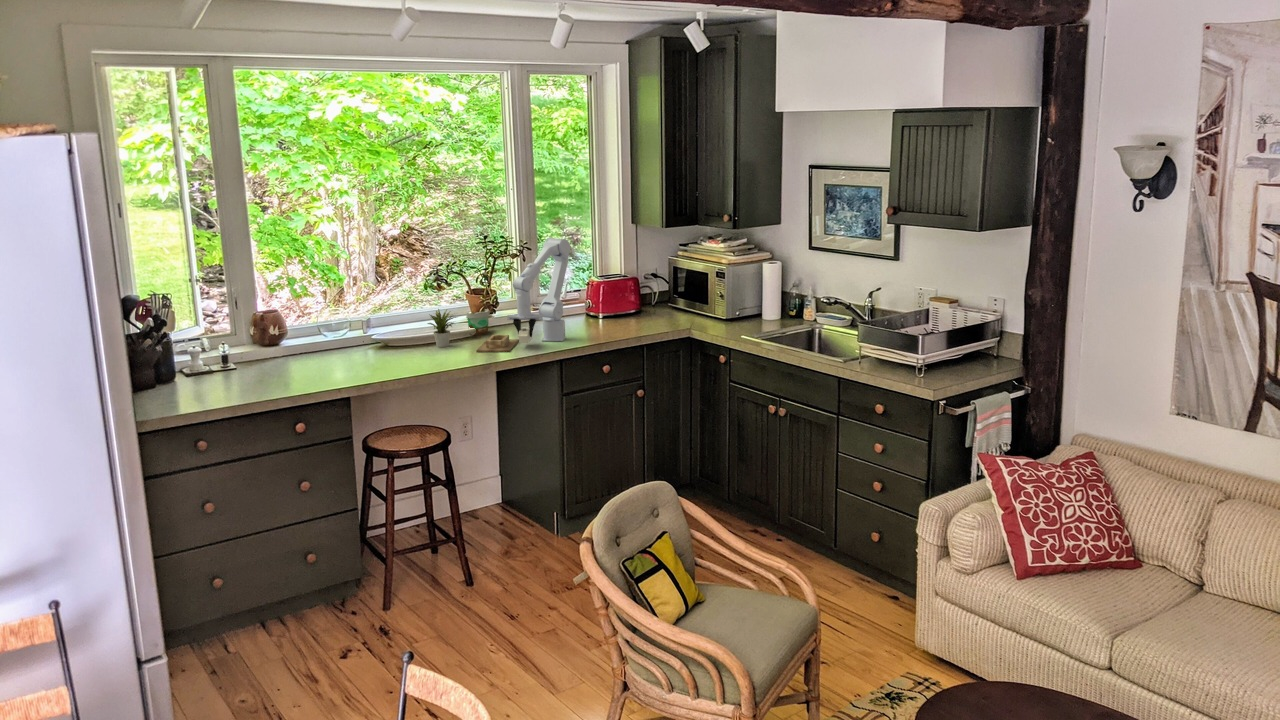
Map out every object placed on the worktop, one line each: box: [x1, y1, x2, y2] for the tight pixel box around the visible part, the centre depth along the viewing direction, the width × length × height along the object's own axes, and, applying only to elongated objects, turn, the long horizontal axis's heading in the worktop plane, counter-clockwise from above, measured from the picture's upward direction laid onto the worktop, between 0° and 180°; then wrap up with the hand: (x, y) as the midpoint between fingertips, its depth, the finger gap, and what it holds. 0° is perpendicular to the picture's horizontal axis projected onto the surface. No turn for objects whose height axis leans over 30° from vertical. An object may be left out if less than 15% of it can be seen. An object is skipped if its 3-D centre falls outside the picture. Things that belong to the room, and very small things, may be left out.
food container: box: [465, 308, 491, 336], centre depth 451 cm, size 12×6×10 cm, turn 143°
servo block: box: [517, 326, 533, 344], centre depth 425 cm, size 4×13×6 cm, turn 175°
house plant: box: [426, 308, 458, 348], centre depth 427 cm, size 14×14×16 cm
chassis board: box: [475, 334, 519, 353], centre depth 427 cm, size 14×20×4 cm
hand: (525, 336), depth 425 cm, fingers closed on servo block, 4 cm apart
